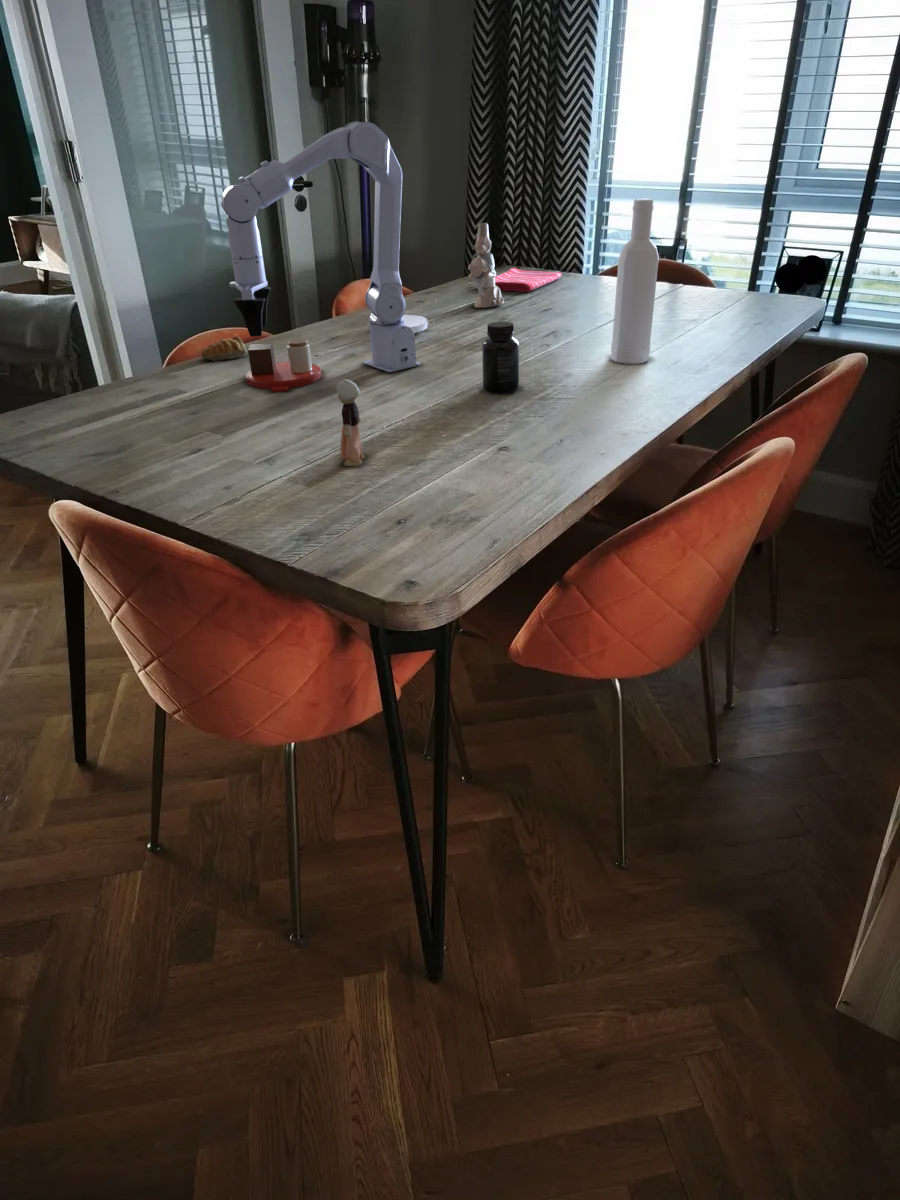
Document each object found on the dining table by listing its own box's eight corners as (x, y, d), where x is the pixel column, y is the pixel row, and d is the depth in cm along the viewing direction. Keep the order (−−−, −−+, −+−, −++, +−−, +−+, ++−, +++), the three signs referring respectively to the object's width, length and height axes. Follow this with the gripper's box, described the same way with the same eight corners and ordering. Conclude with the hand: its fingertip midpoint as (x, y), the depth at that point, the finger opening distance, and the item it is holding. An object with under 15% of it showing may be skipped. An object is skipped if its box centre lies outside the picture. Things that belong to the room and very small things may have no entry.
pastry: (210, 364, 173) (206, 346, 171) (197, 358, 177) (194, 340, 175) (249, 356, 178) (247, 338, 176) (236, 350, 182) (233, 333, 180)
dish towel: (476, 289, 233) (476, 279, 232) (512, 275, 250) (512, 266, 249) (529, 293, 226) (529, 283, 224) (562, 278, 243) (563, 269, 242)
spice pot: (316, 370, 162) (313, 341, 159) (297, 374, 159) (293, 345, 156) (305, 365, 165) (301, 337, 162) (286, 370, 162) (282, 341, 159)
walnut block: (274, 374, 160) (270, 349, 157) (251, 375, 160) (247, 350, 157) (276, 368, 164) (272, 343, 161) (254, 369, 163) (250, 344, 161)
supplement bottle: (522, 385, 154) (524, 320, 148) (513, 395, 149) (514, 329, 142) (488, 382, 156) (488, 318, 150) (478, 393, 151) (477, 327, 144)
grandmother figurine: (342, 453, 126) (333, 373, 120) (366, 452, 127) (359, 372, 120) (340, 472, 120) (331, 389, 113) (366, 471, 120) (358, 387, 113)
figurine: (483, 301, 219) (482, 220, 209) (509, 304, 215) (509, 222, 205) (464, 307, 213) (463, 225, 203) (490, 310, 209) (490, 226, 199)
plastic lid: (359, 337, 189) (358, 326, 188) (385, 323, 200) (384, 313, 199) (413, 341, 184) (412, 330, 183) (436, 327, 195) (436, 316, 194)
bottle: (656, 358, 167) (673, 198, 151) (636, 366, 162) (651, 202, 147) (623, 351, 172) (636, 196, 156) (602, 360, 167) (614, 200, 151)
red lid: (251, 369, 168) (250, 362, 168) (323, 365, 169) (322, 359, 169) (240, 393, 154) (239, 386, 154) (318, 389, 155) (317, 382, 154)
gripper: (231, 251, 156) (242, 323, 163) (219, 264, 144) (232, 341, 151) (267, 250, 156) (277, 321, 164) (259, 262, 144) (270, 339, 151)
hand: (258, 331), depth 157 cm, fingers open, 7 cm apart
